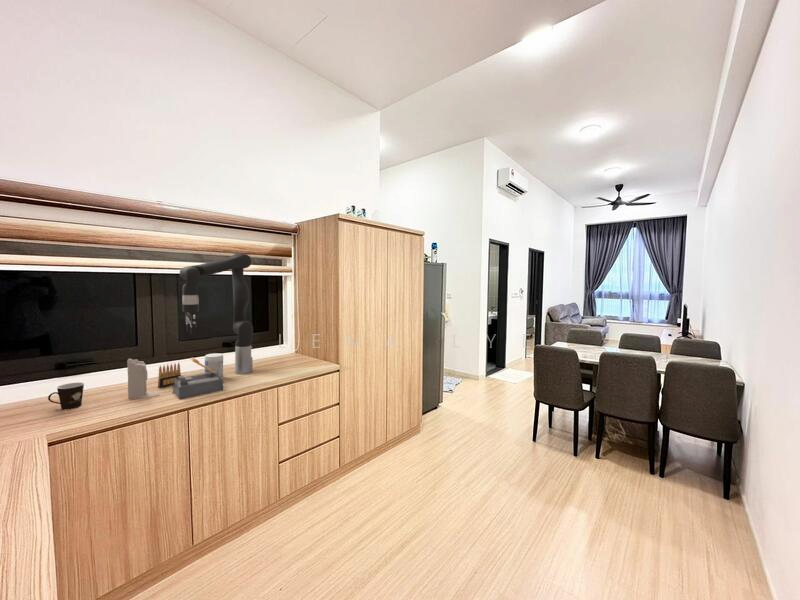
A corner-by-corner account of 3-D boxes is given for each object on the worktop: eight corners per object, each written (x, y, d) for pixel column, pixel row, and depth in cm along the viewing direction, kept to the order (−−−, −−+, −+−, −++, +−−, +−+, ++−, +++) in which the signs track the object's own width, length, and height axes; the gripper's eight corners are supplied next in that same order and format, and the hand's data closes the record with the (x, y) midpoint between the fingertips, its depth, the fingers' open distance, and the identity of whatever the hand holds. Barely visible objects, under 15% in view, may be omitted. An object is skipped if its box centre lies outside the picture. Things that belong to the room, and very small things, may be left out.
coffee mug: (83, 401, 155) (82, 381, 154) (86, 406, 149) (85, 385, 148) (47, 409, 146) (46, 387, 145) (48, 414, 140) (47, 391, 139)
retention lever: (213, 373, 180) (215, 370, 180) (216, 374, 177) (218, 372, 177) (190, 359, 171) (192, 357, 172) (192, 361, 168) (194, 358, 169)
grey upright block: (161, 396, 165) (161, 357, 163) (126, 400, 158) (125, 359, 157) (163, 391, 171) (163, 354, 170) (130, 395, 164) (129, 356, 163)
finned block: (215, 383, 185) (215, 367, 184) (223, 390, 175) (223, 373, 175) (172, 391, 171) (172, 374, 170) (179, 399, 161) (178, 381, 160)
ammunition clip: (159, 388, 176) (158, 366, 175) (157, 387, 177) (157, 365, 176) (181, 383, 185) (181, 362, 184) (180, 382, 186) (179, 361, 185)
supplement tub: (201, 381, 188) (200, 356, 187) (210, 376, 197) (210, 352, 196) (217, 382, 188) (217, 357, 187) (226, 377, 198) (226, 353, 197)
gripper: (202, 304, 176) (202, 333, 177) (195, 302, 186) (195, 330, 187) (185, 304, 171) (186, 335, 172) (179, 302, 181) (180, 331, 182)
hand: (191, 332), depth 179 cm, fingers open, 8 cm apart
